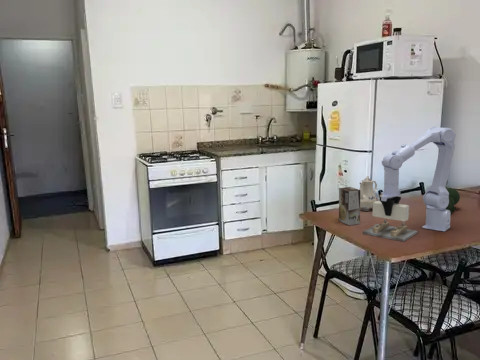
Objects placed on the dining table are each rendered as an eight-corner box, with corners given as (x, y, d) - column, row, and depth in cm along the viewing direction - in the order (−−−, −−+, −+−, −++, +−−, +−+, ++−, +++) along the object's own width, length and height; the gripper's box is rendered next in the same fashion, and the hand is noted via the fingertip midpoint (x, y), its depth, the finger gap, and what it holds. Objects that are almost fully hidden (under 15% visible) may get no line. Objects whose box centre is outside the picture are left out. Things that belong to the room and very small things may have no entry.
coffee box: (360, 224, 201) (361, 190, 198) (348, 225, 199) (348, 191, 196) (350, 219, 209) (350, 186, 206) (338, 220, 208) (338, 187, 205)
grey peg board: (417, 233, 185) (417, 222, 184) (403, 241, 175) (404, 230, 174) (377, 225, 197) (377, 216, 196) (362, 233, 187) (362, 223, 186)
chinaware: (368, 217, 218) (372, 185, 213) (341, 208, 230) (344, 177, 226) (399, 206, 235) (403, 177, 231) (372, 199, 247) (375, 170, 243)
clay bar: (408, 219, 181) (408, 205, 180) (404, 221, 178) (405, 207, 177) (376, 214, 191) (377, 200, 190) (372, 216, 188) (372, 202, 187)
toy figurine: (451, 221, 205) (461, 205, 224) (453, 183, 200) (463, 170, 220) (430, 218, 211) (442, 203, 230) (431, 181, 206) (443, 169, 225)
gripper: (389, 179, 190) (388, 209, 192) (374, 184, 179) (373, 216, 182) (405, 181, 185) (404, 211, 187) (391, 186, 175) (390, 219, 177)
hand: (390, 214), depth 184 cm, fingers closed on clay bar, 4 cm apart
